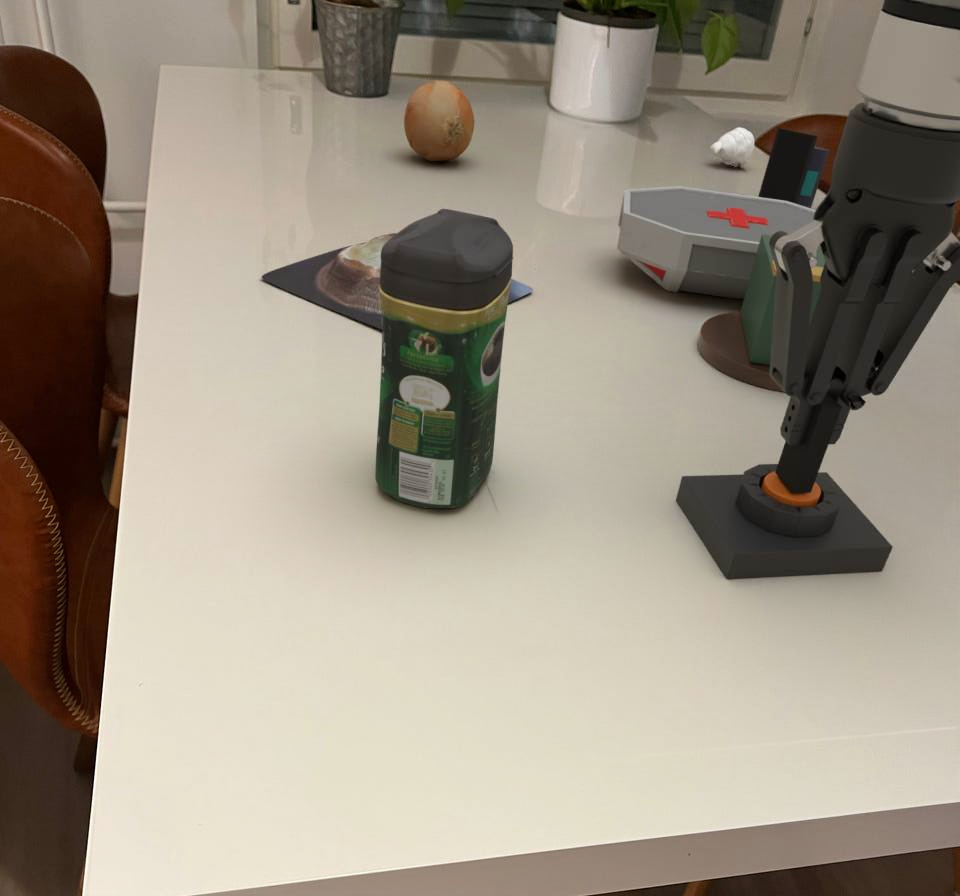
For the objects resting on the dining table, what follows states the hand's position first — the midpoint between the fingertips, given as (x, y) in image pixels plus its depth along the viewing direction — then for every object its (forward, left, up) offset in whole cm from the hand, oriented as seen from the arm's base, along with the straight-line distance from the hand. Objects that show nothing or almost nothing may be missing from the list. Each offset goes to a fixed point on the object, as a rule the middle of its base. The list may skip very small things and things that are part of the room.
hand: (792, 482), depth 69 cm
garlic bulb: (-37, -98, -5) cm, 105 cm away
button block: (0, 0, -5) cm, 5 cm away
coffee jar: (+24, -9, -5) cm, 26 cm away
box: (-14, -30, -3) cm, 33 cm away
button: (0, 0, -2) cm, 2 cm away
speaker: (-37, -77, -5) cm, 86 cm away
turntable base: (-14, -30, -5) cm, 33 cm away
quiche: (+21, -47, -5) cm, 52 cm away
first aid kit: (-16, -49, -5) cm, 52 cm away
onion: (+9, -94, -5) cm, 95 cm away
